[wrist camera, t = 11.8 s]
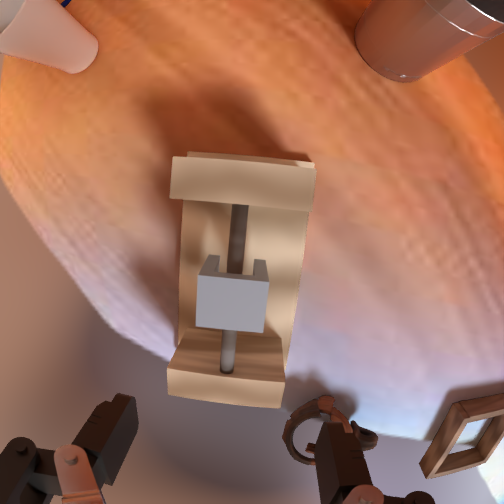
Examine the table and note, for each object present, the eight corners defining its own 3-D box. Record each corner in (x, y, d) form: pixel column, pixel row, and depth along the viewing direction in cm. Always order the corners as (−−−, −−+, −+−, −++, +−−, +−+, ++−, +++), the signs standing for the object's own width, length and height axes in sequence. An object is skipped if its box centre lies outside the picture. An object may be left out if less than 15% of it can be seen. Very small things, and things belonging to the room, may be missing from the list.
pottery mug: (287, 447, 38) (274, 469, 31) (294, 386, 40) (282, 398, 33) (371, 453, 35) (375, 477, 27) (381, 391, 37) (388, 404, 29)
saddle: (209, 254, 28) (197, 275, 22) (265, 259, 28) (269, 282, 22) (206, 296, 29) (195, 326, 23) (260, 301, 29) (262, 332, 23)
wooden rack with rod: (189, 152, 30) (160, 142, 21) (312, 163, 29) (332, 156, 21) (180, 352, 35) (158, 400, 26) (284, 365, 34) (289, 416, 26)
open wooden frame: (453, 402, 35) (464, 417, 32) (511, 391, 35) (522, 403, 31) (418, 464, 39) (425, 479, 35) (476, 450, 38) (485, 463, 35)
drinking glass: (116, 40, 27) (43, -18, 12) (82, 89, 28) (-7, 54, 14) (82, 24, 26) (10, -25, 12) (50, 69, 28) (-33, 37, 13)
